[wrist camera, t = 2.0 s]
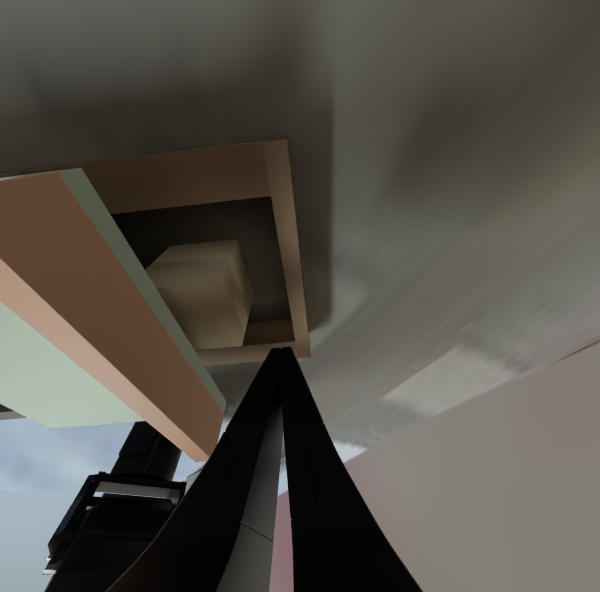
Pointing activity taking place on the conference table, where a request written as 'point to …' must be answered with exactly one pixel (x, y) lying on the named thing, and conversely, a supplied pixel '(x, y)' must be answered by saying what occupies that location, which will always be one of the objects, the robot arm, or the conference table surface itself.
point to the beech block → (205, 291)
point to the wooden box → (208, 189)
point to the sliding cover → (91, 321)
